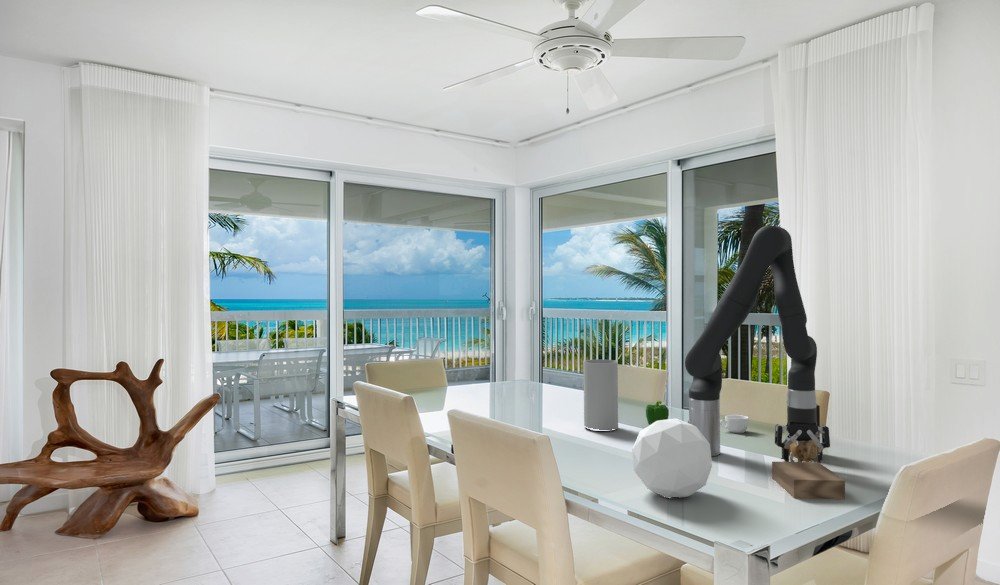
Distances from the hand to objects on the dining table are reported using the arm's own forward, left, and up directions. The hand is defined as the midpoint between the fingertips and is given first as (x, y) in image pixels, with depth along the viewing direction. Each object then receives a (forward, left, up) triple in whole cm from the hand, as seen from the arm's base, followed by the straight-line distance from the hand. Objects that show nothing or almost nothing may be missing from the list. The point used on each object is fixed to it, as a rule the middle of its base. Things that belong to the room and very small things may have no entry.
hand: (802, 461), depth 178 cm
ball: (-40, -26, -2) cm, 48 cm away
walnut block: (-5, -18, -2) cm, 19 cm away
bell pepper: (-34, +52, -2) cm, 62 cm away
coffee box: (+6, +15, -2) cm, 16 cm away
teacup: (-8, +45, -2) cm, 46 cm away
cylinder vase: (-55, +47, -2) cm, 72 cm away
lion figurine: (0, +1, -2) cm, 2 cm away
